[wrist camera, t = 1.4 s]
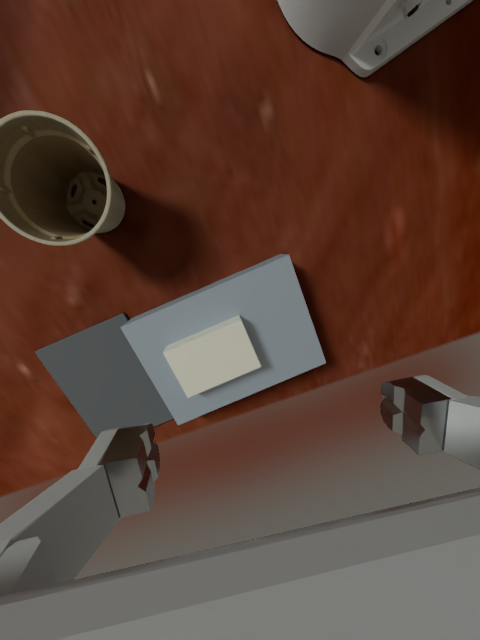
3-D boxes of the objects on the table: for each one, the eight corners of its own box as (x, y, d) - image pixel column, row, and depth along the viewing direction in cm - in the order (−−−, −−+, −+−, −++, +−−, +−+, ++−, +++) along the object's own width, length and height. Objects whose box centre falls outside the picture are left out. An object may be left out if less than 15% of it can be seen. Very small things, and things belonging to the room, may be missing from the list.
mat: (124, 312, 31) (123, 313, 31) (182, 413, 35) (181, 415, 35) (36, 350, 31) (34, 351, 31) (104, 445, 36) (103, 447, 35)
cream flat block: (239, 314, 28) (240, 319, 26) (258, 359, 30) (261, 366, 28) (166, 346, 28) (162, 352, 26) (189, 388, 30) (187, 398, 28)
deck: (279, 254, 31) (289, 254, 27) (314, 350, 35) (326, 362, 31) (131, 318, 31) (120, 327, 27) (182, 406, 35) (177, 425, 31)
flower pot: (140, 160, 27) (107, 118, 19) (142, 250, 29) (113, 250, 21) (46, 148, 26) (-34, 100, 18) (56, 243, 28) (-10, 240, 20)
